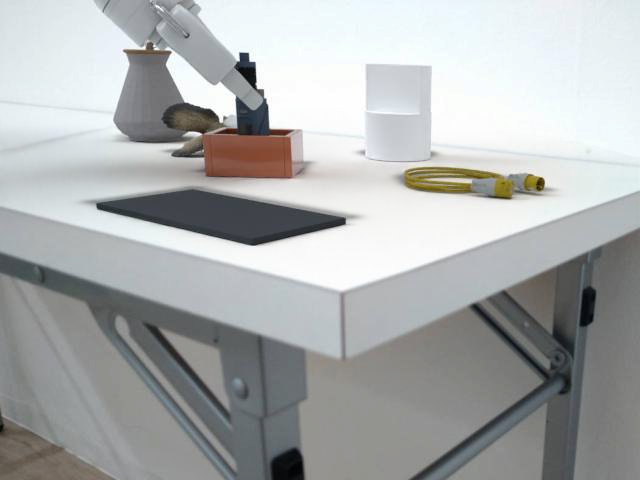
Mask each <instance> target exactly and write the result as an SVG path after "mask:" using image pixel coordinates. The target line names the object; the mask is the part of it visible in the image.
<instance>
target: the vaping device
mask: <svg viewBox="0 0 640 480" xmlns="http://www.w3.org/2000/svg"><path fill="white" fill-rule="evenodd" d="M238 56H239V57H238V58H239V60H237V63H236V65H235V66H234V68H235V69H236V70H237V71H238V72H239V73H240V74H241V75H242V76H243V77H244V78H245V80H246V81H247V82H248V83H249V84H250V85H251V86H252V88H253V89H254V90H255V91H256V92H257V93H258V94H259V95H260V96H261V97H262V98H263V103H262V104H261V105H260V106H259V107H258V108H257V109H256V110H251V109H250V108H249V107H248V106H247V105H246V104H245V103H244V102H243V101H242V100H241V99H239V98H238V97H237V96H236V95H235V99H234V100H235V116H237V131H238V135H270V129H271V128H270V110H269V109H270V108H269V104H268V102H267V101H268V98H267V97H265V89H264V88H258V85H257V83H258V81H257V80H258V78H257V62H256V61H251V60H250V52H242V51H241V52H238Z"/></svg>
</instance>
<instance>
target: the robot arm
mask: <svg viewBox="0 0 640 480" xmlns="http://www.w3.org/2000/svg"><path fill="white" fill-rule="evenodd" d="M93 2H94V4H95V5H96V7H97V8H98V9H99V10H100V12H101V13H103V15H104V16H105V17H107V18H108V19H109V20H110V21H111V22H112V23H113V24H114V25H115V26H117V28H118V29H120V31H122V32H123V33H124V34H125V35H126V36H127V37H128V38H129V39H130V40H131V41H132V42H133V43H135V45H137V46H138V47H139V48H144V47H146V46H147V45H146V44H147V43H149V42H152V43H153V44H154V45H153V46H154V47H156V46H157V47H156V48H157V50H160V51H164V50H166V49H167V48H169V49H170V50H171V51H172V52H174V53H175V54H177V55H178V56H179V57H181V58H182V59H183V60H184V61H185V62H186V63H188V65H189V66H191V68H192V69H194V70H195V71H196V72H197V73H198V74H199V75H200V76H201V77H202V78H203V79H204V80H206V82H208V83H209V84H210V85H212V86H217V85H218V84H219V83H221V84H222V85H223V86H224V87H225V88H226V89H227V90H228V91H229V92H231V93H232V94H233V95H234V96H235V97H236V96H237V97H238V98H239V99H241V100H242V101H243V102H244V103H245V104H246V105H247V106H248V107H249V108H250V109H251V110H256V109H257V108H258V107H259V106H260V105H261V104H262V103H263V98H262V97H261V96H260V95H259V94H258V93H257V92H256V91H255V90H254V89H253V88H252V86H251V85H250V84H249V83H248V82H247V81H246V80H245V78H244V77H243V76H242V75H241V74H240V73H239V72H238V71H237V70H236V69H235V68H234V66H235V65H236V63H237V61H238V60H237V58H236V56H235V55H234V54H233V53H232V52H231V51H230V50H229V49H228V48H227V47H226V46H225V45H224V44H223V43H221V41H220V40H219V39H218V38H217V37H216V36H215V35H214V34H213V33H212V31H211V30H210V28H208V26H207V25H206V24H205V22H203V20H202V19H201V18H200V16H199V14H200V12H201V11H202V7H201V6H200V5H199V4H198V3H196V1H195V0H93ZM145 45H146V46H145Z"/></svg>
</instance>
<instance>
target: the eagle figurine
mask: <svg viewBox="0 0 640 480" xmlns="http://www.w3.org/2000/svg"><path fill="white" fill-rule="evenodd" d="M161 120H162V121H163V123H164V124H166V125H167V126H166V127H167V128H170V129H175V130H182V131H187V132H188V133H199V134H200V135H198V136H196V137H193V138H191V139H189V140H187V142H185V143H184V144H183V145H182V147H181V148H179V149H176V150H174V151H173V152H172V153H171V154H170V156H172V157H180V156H181V157H184V156H191V155H192V154H196V153H198V152H204V149H203V138H202V135H203V134H205V133H208V132H211V131H214V130H216V129H219V128H222V127H228V128H237V116H236V114H229V115H228V116H226V115H223V116H222V122H221V120H220V117H219V115H218V114H217V113H216V112H215V111H214V110H212V109H211V108H210V107H209V108H207V107H201V106H200V105H194V104H192V103H189V102H185V101H184V102H183V103H179V104H178V103H177V104H175V105H172V106H169V107H168V109H166V110H165V112H164V113H163V116H162V118H161Z"/></svg>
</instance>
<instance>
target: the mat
mask: <svg viewBox="0 0 640 480" xmlns="http://www.w3.org/2000/svg"><path fill="white" fill-rule="evenodd" d="M95 204H96V205H95V206H96V208H97V210H101V211H107V212H110V213H115V214H118V215H123V216H127V217H132V218H136V219H140V220H144V221H149V222H152V223H157V224H161V225H166V226H170V227H174V228H179V229H183V230H187V231H191V232H195V233H199V234H203V235H208V236H212V237H216V238H220V239H224V240H229V241H233V242H237V243H241V244H245V245H251V246H256V245H259V244H264V243H268V242H271V241H272V242H273V241H277V240H280V239H281V240H282V239H285V238H289V237H290V238H291V237H294V236H298V235H303V234H306V233H307V234H308V233H311V232H315V231H319V230H324V229H328V228H332V227H338V226H342V225H346V223H347V218H346V217H343V216H338V215H333V214H328V213H322V212H317V211H312V210H307V209H301V208H296V207H291V206H285V205H280V204H275V203H270V202H269V203H268V202H264V201H258V200H254V199H248V198H243V197H237V196H232V195H228V194H226V195H225V194H221V193H216V192H211V191H205V190H199V189H194V188H190V189H183V190H176V191H170V192H162V193H155V194H149V195H142V196H141V195H140V196H135V197H128V198H120V199H114V200H108V201H107V200H106V201H101V202H96V203H95Z"/></svg>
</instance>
